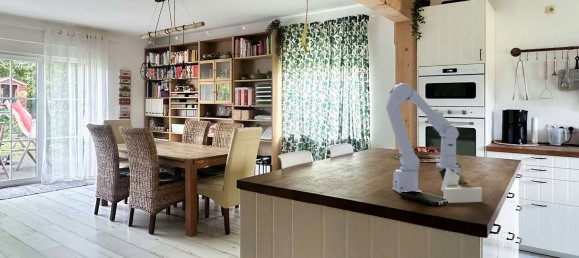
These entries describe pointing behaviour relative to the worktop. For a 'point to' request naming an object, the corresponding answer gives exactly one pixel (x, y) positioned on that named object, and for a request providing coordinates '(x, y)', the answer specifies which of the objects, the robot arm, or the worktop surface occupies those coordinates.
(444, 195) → the wall panel
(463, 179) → the chocolate bunny
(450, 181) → the white wedge bracket
